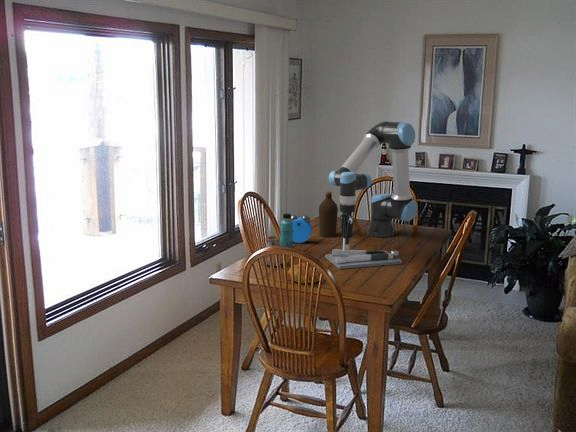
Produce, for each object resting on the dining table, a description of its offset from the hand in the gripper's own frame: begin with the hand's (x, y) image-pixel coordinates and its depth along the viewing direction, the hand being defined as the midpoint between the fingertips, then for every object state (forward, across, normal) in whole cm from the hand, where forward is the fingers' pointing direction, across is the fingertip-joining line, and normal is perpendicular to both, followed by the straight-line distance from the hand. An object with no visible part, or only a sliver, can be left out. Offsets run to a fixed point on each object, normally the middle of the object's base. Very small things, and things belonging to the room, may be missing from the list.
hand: (346, 250), depth 305 cm
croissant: (+4, +30, -31) cm, 43 cm away
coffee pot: (+3, +9, -40) cm, 41 cm away
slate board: (+3, +10, +5) cm, 11 cm away
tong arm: (+1, +6, +4) cm, 8 cm away
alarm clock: (+3, -31, -15) cm, 35 cm away
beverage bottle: (+3, -14, -27) cm, 31 cm away
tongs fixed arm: (+1, +14, +6) cm, 15 cm away
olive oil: (+3, -41, +5) cm, 42 cm away
